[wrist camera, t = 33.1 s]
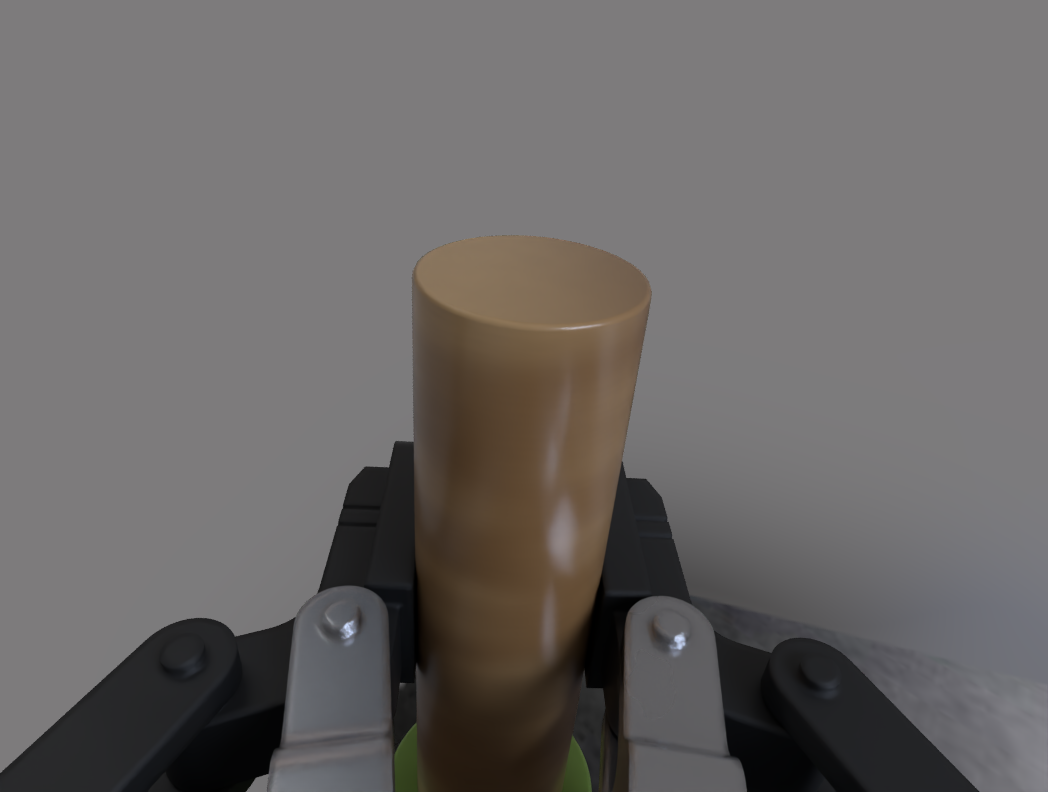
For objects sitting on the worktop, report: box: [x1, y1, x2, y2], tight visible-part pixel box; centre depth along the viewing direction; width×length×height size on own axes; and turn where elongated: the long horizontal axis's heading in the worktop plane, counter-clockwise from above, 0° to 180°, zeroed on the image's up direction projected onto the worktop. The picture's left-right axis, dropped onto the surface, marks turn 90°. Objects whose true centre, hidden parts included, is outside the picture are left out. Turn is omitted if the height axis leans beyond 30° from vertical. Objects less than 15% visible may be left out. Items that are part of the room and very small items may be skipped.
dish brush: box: [394, 235, 652, 792], centre depth 12 cm, size 4×4×13 cm
